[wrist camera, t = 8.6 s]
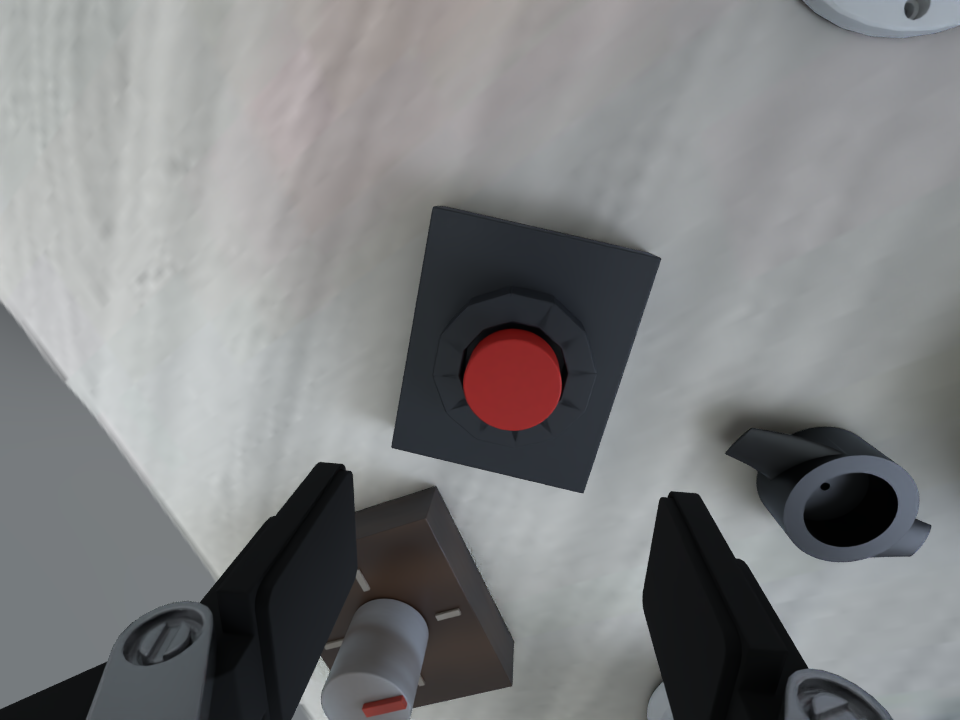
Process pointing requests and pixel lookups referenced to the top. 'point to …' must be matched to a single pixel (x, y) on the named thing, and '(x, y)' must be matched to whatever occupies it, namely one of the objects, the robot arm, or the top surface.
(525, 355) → the button
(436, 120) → the top surface
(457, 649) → the dial panel
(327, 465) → the robot arm
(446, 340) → the button block
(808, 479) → the black wing nut
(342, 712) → the dial
